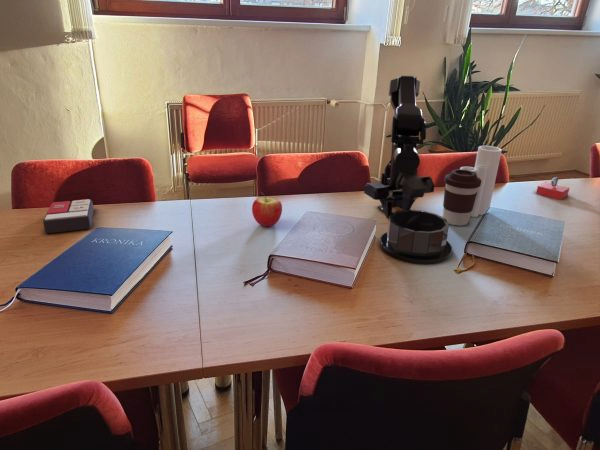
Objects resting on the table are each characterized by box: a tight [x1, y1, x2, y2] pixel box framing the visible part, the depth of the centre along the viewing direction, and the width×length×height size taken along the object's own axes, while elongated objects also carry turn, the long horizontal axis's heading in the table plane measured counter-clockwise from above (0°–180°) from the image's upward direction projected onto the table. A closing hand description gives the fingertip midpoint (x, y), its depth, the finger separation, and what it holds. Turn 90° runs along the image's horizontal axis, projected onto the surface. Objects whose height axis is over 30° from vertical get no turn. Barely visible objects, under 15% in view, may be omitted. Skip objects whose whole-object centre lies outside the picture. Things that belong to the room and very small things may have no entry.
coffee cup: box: [442, 168, 481, 226], centre depth 128 cm, size 10×10×15 cm
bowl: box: [386, 207, 450, 256], centre depth 114 cm, size 17×14×6 cm
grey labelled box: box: [42, 198, 94, 234], centre depth 124 cm, size 11×4×15 cm
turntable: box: [379, 231, 453, 265], centre depth 114 cm, size 18×18×1 cm
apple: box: [251, 191, 283, 227], centre depth 124 cm, size 8×8×10 cm
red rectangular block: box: [535, 176, 570, 201], centre depth 154 cm, size 8×7×6 cm
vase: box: [459, 145, 503, 218], centre depth 134 cm, size 11×7×20 cm, turn 111°
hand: (396, 217), depth 121 cm, fingers open, 5 cm apart
